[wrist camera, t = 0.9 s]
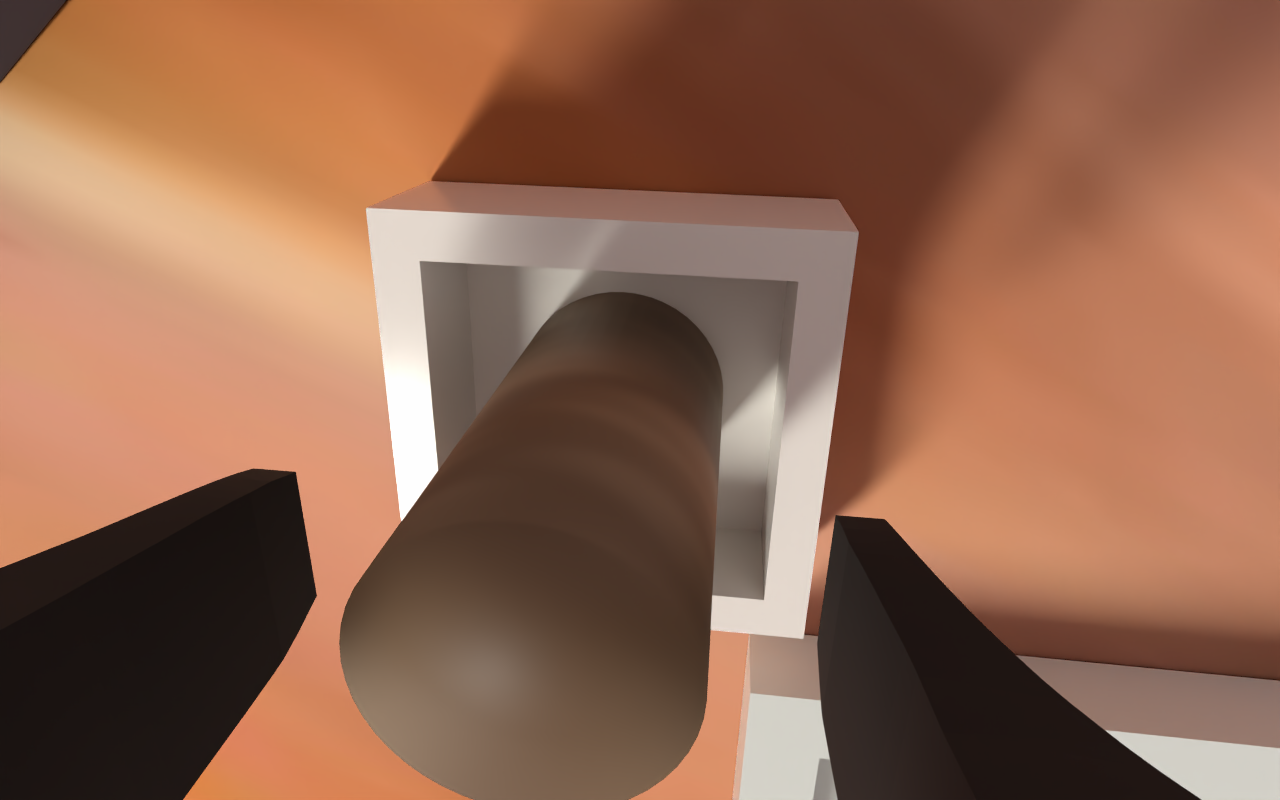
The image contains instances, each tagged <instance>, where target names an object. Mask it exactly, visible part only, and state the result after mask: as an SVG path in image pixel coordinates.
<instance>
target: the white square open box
mask: <svg viewBox="0 0 1280 800" xmlns="http://www.w3.org/2000/svg"><path fill="white" fill-rule="evenodd" d="M366 214H367V223H368V231H369V240H370V249H371V258H372V267H373V276H374V285H375V294H376V302H377V311H378V320H379V329H380V338H381V347H382V356H383V365H384V373H385V382H386V391H387V400H388V409H389V418H390V427H391V436H392V444H393V453H394V462H395V471H396V480H397V489H398V498H399V507H400V515H401V521H402V520H403V519H404V517H405V516H406V514H407V513H408V512H409V510H410V509H411V508H412V506H413V505H414V503H415V502H416V501H417V499H418V498H419V496H420V495H421V494H422V492H423V491H424V489H425V488H426V487H427V485H428V484H429V482H430V481H431V480H432V478H433V477H434V475H435V474H436V473H437V471H438V470H439V469H440V467H441V466H442V464H443V463H444V462H445V460H446V459H447V457H448V456H449V455H450V453H451V452H452V450H453V449H454V448H455V446H456V445H457V443H458V442H459V441H460V439H461V438H462V436H463V435H464V434H465V432H466V431H467V430H468V428H469V427H470V425H471V424H472V423H473V421H474V420H475V418H476V417H477V416H478V414H479V413H480V411H481V410H482V409H483V407H484V406H485V404H486V403H487V402H488V400H489V399H490V398H491V396H492V395H493V393H494V392H495V391H496V389H497V388H498V386H499V385H500V384H501V382H502V381H503V379H504V378H505V377H506V375H507V374H508V372H509V371H510V370H511V368H512V367H513V365H514V364H515V363H516V361H517V360H518V359H519V357H520V356H521V354H522V353H523V352H524V350H525V349H526V347H527V346H528V345H529V343H530V342H531V340H532V339H533V338H534V336H535V335H536V333H537V332H538V331H539V329H540V328H541V327H542V325H543V324H544V323H545V322H546V321H547V320H548V319H549V318H550V317H551V316H552V315H554V314H555V313H556V312H557V311H559V310H560V309H561V308H563V307H565V306H566V305H568V304H570V303H571V302H574V301H576V300H579V299H581V298H583V297H587V296H591V295H594V294H600V293H607V292H627V293H635V294H640V295H644V296H648V297H652V298H654V299H657V300H659V301H662V302H664V303H666V304H668V305H670V306H671V307H673V308H675V309H677V310H678V311H679V312H681V313H682V314H684V315H685V316H686V317H688V318H689V319H690V320H691V321H692V322H693V323H694V324H695V325H696V326H697V327H698V328H699V329H700V331H701V332H702V333H703V334H704V336H705V337H706V338H707V340H708V342H709V343H710V345H711V346H712V348H713V350H714V353H715V355H716V357H717V359H718V363H719V366H720V370H721V374H722V381H723V406H722V425H721V443H720V462H719V481H718V499H717V518H716V537H715V556H714V574H713V593H712V612H711V630H717V631H727V632H737V633H748V634H758V635H768V636H778V637H789V638H799V639H803V638H804V631H805V624H806V616H807V609H808V602H809V594H810V587H811V580H812V572H813V565H814V558H815V550H816V543H817V536H818V528H819V521H820V514H821V506H822V499H823V492H824V484H825V477H826V470H827V462H828V455H829V448H830V440H831V433H832V426H833V418H834V411H835V404H836V396H837V389H838V382H839V374H840V367H841V360H842V352H843V345H844V338H845V330H846V323H847V316H848V308H849V301H850V294H851V286H852V279H853V272H854V264H855V257H856V250H857V242H858V235H859V231H858V230H857V228H856V227H855V225H854V224H853V222H852V220H851V219H850V217H849V216H848V214H847V213H846V211H845V209H844V208H843V206H842V205H841V203H840V202H839V200H838V199H818V198H796V197H774V196H751V195H729V194H707V193H685V192H663V191H641V190H618V189H596V188H574V187H552V186H530V185H507V184H485V183H463V182H441V181H428V182H426V183H423V184H421V185H419V186H416V187H414V188H412V189H409V190H407V191H404V192H402V193H400V194H397V195H395V196H393V197H390V198H388V199H386V200H383V201H381V202H379V203H376V204H374V205H372V206H369V207H367V208H366Z"/></svg>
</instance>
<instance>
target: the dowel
mask: <svg viewBox="0 0 1280 800" xmlns="http://www.w3.org/2000/svg"><path fill="white" fill-rule="evenodd" d="M722 406H723V381H722V374H721V370H720V366H719V363H718V359H717V357H716V355H715V353H714V350H713V348H712V346H711V345H710V343H709V342H708V340H707V338H706V337H705V336H704V334H703V333H702V332H701V331H700V329H699V328H698V327H697V326H696V325H695V324H694V323H693V322H692V321H691V320H690V319H689V318H688V317H686V316H685V315H684V314H682V313H681V312H679V311H678V310H677V309H675V308H673V307H671V306H670V305H668V304H666V303H664V302H662V301H659V300H657V299H654V298H652V297H648V296H644V295H640V294H635V293H627V292H607V293H600V294H594V295H591V296H587V297H583V298H581V299H579V300H576V301H574V302H571V303H570V304H568V305H566V306H565V307H563V308H561V309H560V310H559V311H557V312H556V313H555V314H554V315H552V316H551V317H550V318H549V319H548V320H547V321H546V322H545V323H544V324H543V325H542V327H541V328H540V329H539V331H538V332H537V333H536V335H535V336H534V338H533V339H532V340H531V342H530V343H529V345H528V346H527V347H526V349H525V350H524V352H523V353H522V354H521V356H520V357H519V359H518V360H517V361H516V363H515V364H514V365H513V367H512V368H511V370H510V371H509V372H508V374H507V375H506V377H505V378H504V379H503V381H502V382H501V384H500V385H499V386H498V388H497V389H496V391H495V392H494V393H493V395H492V396H491V398H490V399H489V400H488V402H487V403H486V404H485V406H484V407H483V409H482V410H481V411H480V413H479V414H478V416H477V417H476V418H475V420H474V421H473V423H472V424H471V425H470V427H469V428H468V430H467V431H466V432H465V434H464V435H463V436H462V438H461V439H460V441H459V442H458V443H457V445H456V446H455V448H454V449H453V450H452V452H451V453H450V455H449V456H448V457H447V459H446V460H445V462H444V463H443V464H442V466H441V467H440V469H439V470H438V471H437V473H436V474H435V475H434V477H433V478H432V480H431V481H430V482H429V484H428V485H427V487H426V488H425V489H424V491H423V492H422V494H421V495H420V496H419V498H418V499H417V501H416V502H415V503H414V505H413V506H412V508H411V509H410V510H409V512H408V513H407V514H406V516H405V517H404V519H403V520H402V521H401V523H400V524H399V526H398V527H397V528H396V530H395V531H394V533H393V534H392V535H391V537H390V538H389V540H388V541H387V542H386V544H385V545H384V546H383V548H382V549H381V551H380V552H379V553H378V555H377V556H376V558H375V559H374V560H373V562H372V563H371V565H370V566H369V567H368V569H367V570H366V572H365V573H364V574H363V576H362V577H361V579H360V580H359V582H358V583H357V585H356V586H355V587H354V589H353V591H352V593H351V595H350V598H349V600H348V602H347V604H346V606H345V610H344V614H343V618H342V622H341V629H340V641H339V644H340V656H341V664H342V668H343V672H344V676H345V680H346V683H347V685H348V688H349V690H350V693H351V696H352V698H353V700H354V702H355V703H356V705H357V707H358V709H359V711H360V712H361V714H362V716H363V717H364V719H365V720H366V721H367V723H368V724H369V726H370V727H371V728H372V730H373V731H374V732H375V733H376V735H377V736H378V737H379V738H380V739H381V740H382V741H383V742H384V743H385V744H386V745H387V746H388V748H390V749H391V750H392V751H393V752H394V753H395V754H396V755H397V756H399V757H400V758H401V759H402V760H403V761H404V762H406V763H407V764H408V765H410V766H411V767H412V768H414V769H415V770H417V771H418V772H419V773H421V774H422V775H424V776H426V777H427V778H429V779H431V780H432V781H434V782H436V783H438V784H439V785H441V786H443V787H445V788H447V789H449V790H452V791H454V792H456V793H458V794H460V795H463V796H465V797H468V798H471V799H474V800H629V799H631V798H633V797H635V796H637V795H639V794H641V793H643V792H645V791H647V790H648V789H650V788H651V787H653V786H654V785H656V784H657V783H659V782H660V781H662V780H663V779H664V778H665V777H666V776H667V775H669V774H670V773H671V772H672V771H673V770H674V769H675V768H676V767H677V766H678V765H679V764H680V762H681V761H682V760H683V759H684V757H685V756H686V755H687V754H688V752H689V751H690V749H691V747H692V745H693V743H694V742H695V740H696V738H697V736H698V734H699V731H700V728H701V725H702V722H703V719H704V714H705V708H706V702H707V687H708V668H709V649H710V630H711V612H712V593H713V574H714V556H715V537H716V518H717V499H718V481H719V462H720V443H721V425H722Z"/></svg>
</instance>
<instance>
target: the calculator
mask: <svg viewBox="0 0 1280 800" xmlns="http://www.w3.org/2000/svg"><path fill="white" fill-rule="evenodd" d="M65 1H66V0H0V82H1V80H2V79H3V78H4V77H5V75H6V74H7V73H8V72H9V70H10V69H11V68H12V67H13V65H14V64H15V63H16V62H17V60H18V59H19V58H20V57H21V56H22V54H23V53H24V52H25V51H26V49H27V48H28V47H29V46H30V44H31V43H32V42H33V41H34V39H35V38H36V37H37V36H38V34H39V33H40V32H41V31H42V30H43V28H44V27H45V26H46V25H47V23H48V22H49V21H50V20H51V18H52V17H53V16H54V15H55V13H56V12H57V11H58V10H59V8H60V7H61V6H62V5H63V4H64V2H65Z"/></svg>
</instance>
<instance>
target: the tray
mask: <svg viewBox="0 0 1280 800" xmlns="http://www.w3.org/2000/svg"><path fill="white" fill-rule="evenodd" d="M817 640H818V636H811V635H804V638H803V639H799V638H789V637H778V636H768V635H758V634H749V639H748V649H747V659H746V668H745V678H744V688H743V698H742V708H741V718H740V728H739V738H738V747H737V757H736V767H735V777H734V787H733V797H732V800H837V794H836V789H835V784H834V779H833V774H832V768H831V763H830V757H829V752H828V747H827V741H826V736H825V730H824V725H823V719H822V711H821V698H820V684H819V667H818V650H817ZM1016 656H1017V657H1018V658H1019V659H1021V660H1022V661H1023V662H1024V663H1025V664H1026V665H1027V666H1028V667H1029V668H1030V669H1032V670H1033V671H1034V672H1035V673H1036V674H1037V675H1038V676H1039V677H1040V678H1041V679H1043V680H1044V681H1045V682H1046V683H1047V684H1048V685H1050V686H1051V687H1052V688H1053V689H1054V690H1055V691H1057V692H1058V693H1059V694H1060V695H1061V696H1063V697H1064V698H1065V699H1066V700H1067V701H1069V702H1070V703H1071V704H1072V705H1074V706H1075V707H1076V708H1077V709H1079V710H1080V711H1081V712H1083V713H1084V714H1085V715H1086V716H1088V717H1089V718H1090V719H1091V720H1093V721H1094V722H1095V723H1097V724H1098V725H1099V726H1100V727H1102V728H1103V729H1104V730H1105V731H1107V732H1108V733H1109V734H1111V735H1112V736H1113V737H1114V738H1116V739H1117V740H1118V741H1119V742H1121V743H1122V744H1123V745H1125V746H1126V747H1127V748H1129V749H1130V750H1131V751H1133V752H1134V753H1135V754H1137V755H1138V756H1140V757H1141V758H1142V759H1144V760H1145V761H1147V762H1148V763H1149V764H1151V765H1152V766H1153V767H1155V768H1156V769H1158V770H1159V771H1160V772H1162V773H1163V774H1165V775H1166V776H1168V777H1169V778H1171V779H1172V780H1173V781H1175V782H1176V783H1178V784H1179V785H1181V786H1182V787H1184V788H1185V789H1187V790H1188V791H1190V792H1191V793H1193V794H1194V795H1195V796H1197V797H1198V798H1200V799H1201V800H1280V681H1277V680H1267V679H1256V678H1246V677H1236V676H1225V675H1215V674H1205V673H1194V672H1184V671H1174V670H1163V669H1153V668H1143V667H1132V666H1122V665H1111V664H1101V663H1091V662H1080V661H1070V660H1060V659H1049V658H1039V657H1029V656H1018V655H1016Z"/></svg>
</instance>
